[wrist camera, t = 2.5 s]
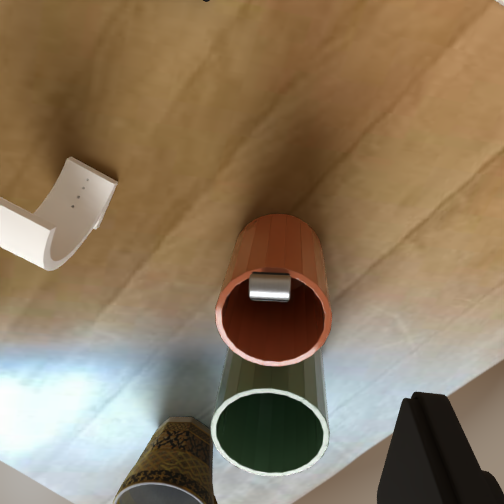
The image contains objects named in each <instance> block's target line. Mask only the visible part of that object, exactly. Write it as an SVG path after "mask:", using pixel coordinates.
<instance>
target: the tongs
mask: <svg viewBox="0 0 504 504" xmlns="http://www.w3.org/2000/svg"><path fill="white" fill-rule="evenodd" d="M290 289H291V276H290V274H289V273H276V272H254V271H253V272H252V274H250V278H249V297H250V298H251V300H255V301H275V302H288V301H289V299H290Z"/></svg>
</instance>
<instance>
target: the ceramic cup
mask: <svg viewBox="0 0 504 504" xmlns="http://www.w3.org/2000/svg"><path fill="white" fill-rule="evenodd" d="M212 460H213V443H212V438H211V431H210V429H209V428H208V427H206V426H205V425H203V424H202V423H201V422H199V421H198V420H196V419H195V418H193V417H169V418H168V419H167V420H166V421H165V422H164V423H163V424H162V425H160V426H159V428H158V429H157V430H156V432H155V433H154V435H153V437H152V438H151V440H150V442H149V443H148V445H147V447H146V448H145V450H144V451H143V453H142V455H141V456H140V458H139V460H138V461H137V463H136V465H135V466H134V467H133V468H132V470H131V471H130V473H129V474H128V476H127V477H126V479H125V481H124V482H123V484H122V485H121V487H120V489H119V491H118V493H117V495H116V496H115V499H114V501H113V504H217V501H216V498H215V496H214V493H213V484H212Z"/></svg>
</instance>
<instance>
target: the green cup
mask: <svg viewBox="0 0 504 504" xmlns="http://www.w3.org/2000/svg"><path fill="white" fill-rule="evenodd" d="M210 426H211V438H212V440H213V442H214V445H215V447H216V449H217V450H218V451H219V452H220V454H221V455H222V456H223V457H224V458H225V459H226V460H227V461H229V462H230V463H232V464H233V465H234V466H236V467H238V468H240V469H242V470H245V471H247V472H249V473H252V474H257V475H263V476H287V475H291V474H295V473H299V472H301V471H303V470H305V469H307V468H309V467H311V466H313V465H314V464H315V463H316V462H317V461H318V460H319V459H320V458H321V457H322V456H323V454H324V452H325V451H326V449H327V447H328V444H329V435H330V431H329V420H328V410H327V399H326V389H325V378H324V368H323V358H322V350H321V347H320V348H319V349H318V350H317V351H316V352H315V353H314V354H313V355H312V356H311V357H309V358H307V359H305V360H303V361H301V362H299V363H296V364H291V365H286V366H263V365H260V364H257V363H254V362H250V361H247V360H245V359H244V358H242V357H241V356H239V355H238V354H236V353H235V352H233V351H232V350H231V349H230V348H229V347H228V349H227V353H226V357H225V362H224V366H223V371H222V375H221V380H220V384H219V388H218V393H217V397H216V402H215V406H214V410H213V415H212V419H211V424H210Z"/></svg>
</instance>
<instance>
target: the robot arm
mask: <svg viewBox="0 0 504 504" xmlns="http://www.w3.org/2000/svg"><path fill="white" fill-rule="evenodd" d="M495 1H497V2H498V3H500V4H501V5H503V6H504V0H495ZM377 504H504V494H503V492H502V490H501V488H500V486H499V484H498V482H497V481H496V479H495V477H494V476H492V474H490V473H489V472H487V471H482V470H481V468H480V466H479V464H478V462H477V459H476V457H475V455H474V453H473V451H472V449H471V447H470V444H469V442H468V440H467V438H466V436H465V434H464V431H463V429H462V427H461V425H460V423H459V421H458V418H457V416H456V414H455V412H454V410H453V408H452V406H451V404H450V401H449V400H448V398H447V397H446V396H445V395H442V394H433V393H424V392H414V393H413V394H412V397H411V399H410V398H404V399H403V401H402V403H401V407H400V411H399V414H398V418H397V421H396V425H395V429H394V432H393V436H392V439H391V443H390V447H389V450H388V454H387V458H386V461H385V465H384V468H383V472H382V475H381V479H380V483H379V486H378V491H377Z"/></svg>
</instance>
